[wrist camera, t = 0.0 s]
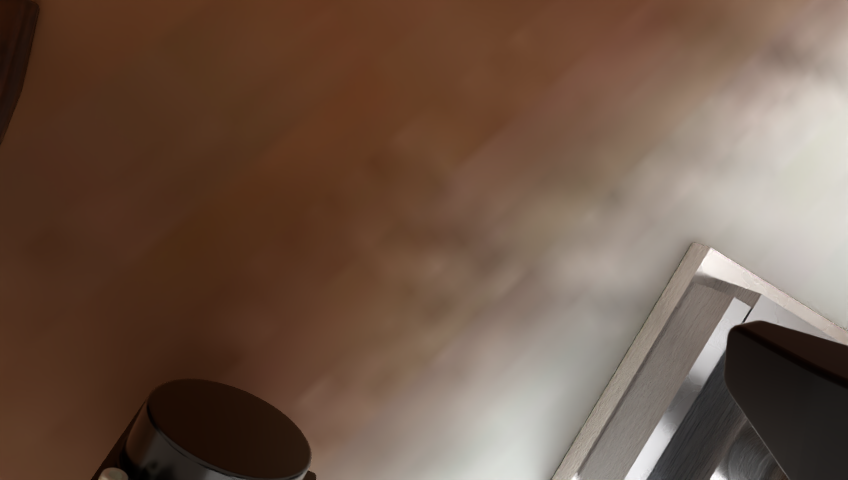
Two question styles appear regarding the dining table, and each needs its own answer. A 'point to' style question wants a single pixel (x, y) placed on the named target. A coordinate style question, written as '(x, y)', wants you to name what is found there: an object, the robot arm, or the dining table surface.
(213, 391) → the pneumatic valve
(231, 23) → the dining table surface
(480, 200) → the dining table surface
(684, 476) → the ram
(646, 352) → the press base
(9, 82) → the pepper mill
